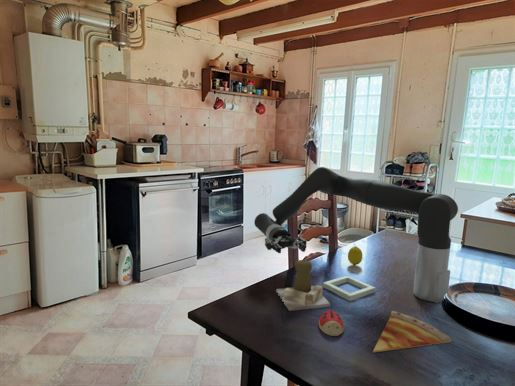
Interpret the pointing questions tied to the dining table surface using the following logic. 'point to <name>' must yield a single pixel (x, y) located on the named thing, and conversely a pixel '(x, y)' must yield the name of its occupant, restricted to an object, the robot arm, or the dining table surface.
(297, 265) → the olive tall tapered post
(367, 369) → the dining table surface
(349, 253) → the lemon
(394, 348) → the pizza slice
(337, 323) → the ladybug figurine
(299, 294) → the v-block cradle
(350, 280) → the block
